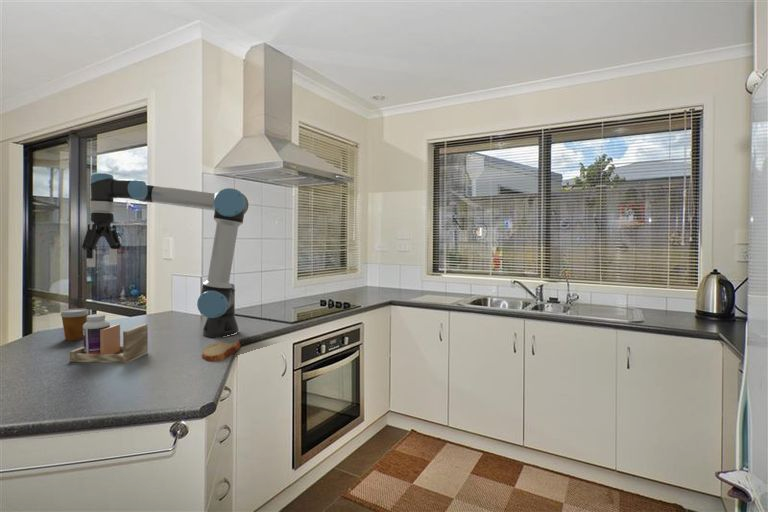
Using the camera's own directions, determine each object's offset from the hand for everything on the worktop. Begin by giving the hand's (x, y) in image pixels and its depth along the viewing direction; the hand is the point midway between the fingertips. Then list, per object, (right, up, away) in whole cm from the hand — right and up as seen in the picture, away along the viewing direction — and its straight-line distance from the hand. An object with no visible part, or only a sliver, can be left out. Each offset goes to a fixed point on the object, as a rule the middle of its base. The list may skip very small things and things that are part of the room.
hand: (102, 265), depth 168 cm
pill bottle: (+9, -32, -17) cm, 37 cm away
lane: (+14, -33, -17) cm, 39 cm away
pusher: (+14, -32, -17) cm, 38 cm away
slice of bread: (+51, -34, -8) cm, 62 cm away
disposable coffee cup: (-17, -31, +8) cm, 37 cm away
